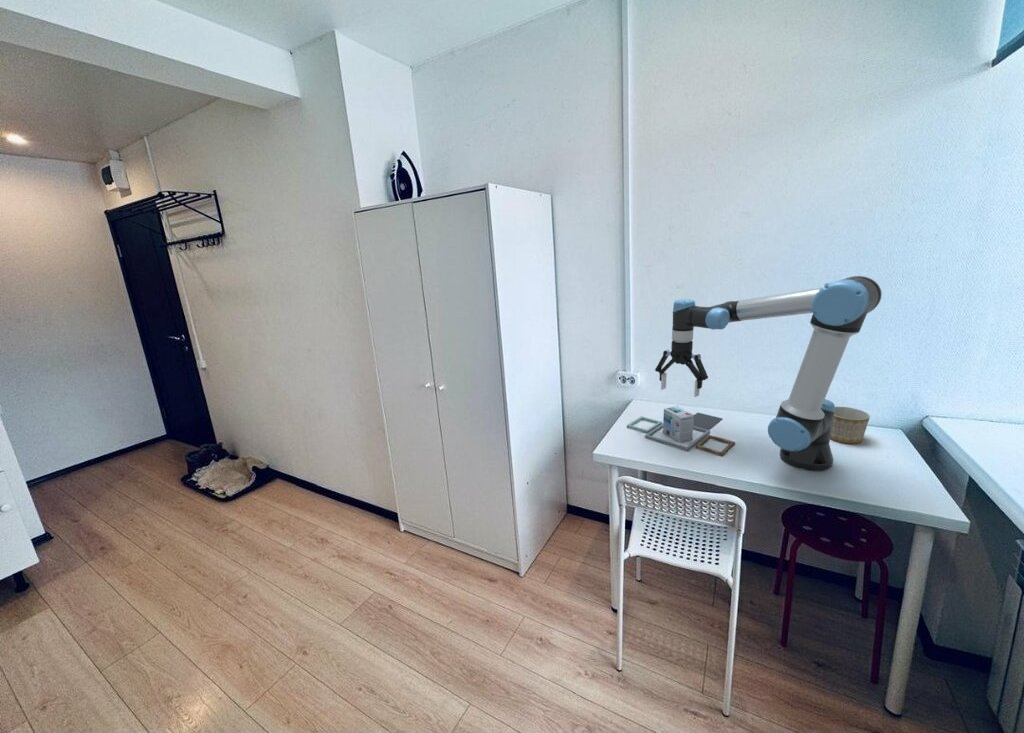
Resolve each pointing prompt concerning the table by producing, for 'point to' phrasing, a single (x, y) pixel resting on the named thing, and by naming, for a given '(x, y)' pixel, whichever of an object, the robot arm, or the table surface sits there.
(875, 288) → the robot arm
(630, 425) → the teal frame
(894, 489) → the table surface
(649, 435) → the slate frame
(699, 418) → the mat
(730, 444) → the walnut frame
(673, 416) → the light bulb box
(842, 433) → the planter
